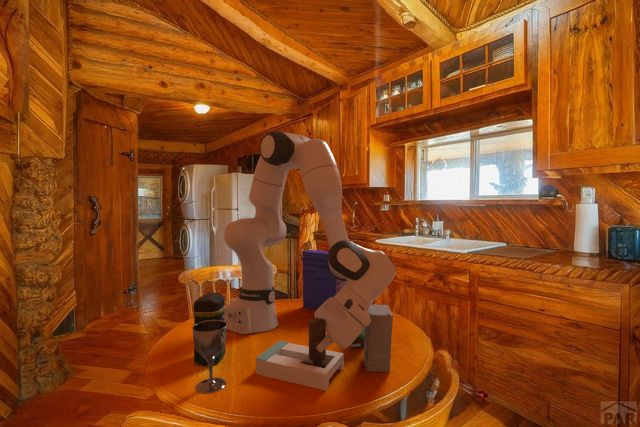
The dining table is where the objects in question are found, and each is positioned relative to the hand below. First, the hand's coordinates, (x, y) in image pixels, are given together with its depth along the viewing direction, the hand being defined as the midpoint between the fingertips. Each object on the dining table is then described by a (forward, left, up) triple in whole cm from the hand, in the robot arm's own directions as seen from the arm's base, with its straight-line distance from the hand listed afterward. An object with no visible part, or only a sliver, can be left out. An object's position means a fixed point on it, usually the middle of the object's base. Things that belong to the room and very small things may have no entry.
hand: (314, 344), depth 89 cm
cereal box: (-18, +48, -8) cm, 52 cm away
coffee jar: (-31, -4, -8) cm, 33 cm away
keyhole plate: (-4, 0, -8) cm, 9 cm away
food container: (+6, +23, -8) cm, 25 cm away
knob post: (0, 0, -8) cm, 8 cm away
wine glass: (-21, -15, -8) cm, 27 cm away
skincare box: (+14, +11, -8) cm, 20 cm away
